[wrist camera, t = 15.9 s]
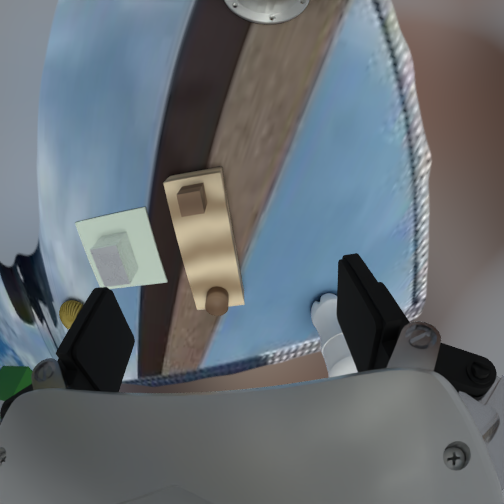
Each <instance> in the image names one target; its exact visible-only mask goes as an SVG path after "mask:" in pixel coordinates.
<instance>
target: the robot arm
mask: <svg viewBox="0 0 504 504" xmlns="http://www.w3.org/2000/svg"><path fill="white" fill-rule="evenodd" d="M224 2H225V4H226V5H227V6H228V8H229V9H230V10H231V11H232V12H233V13H234V14H236V15H237V16H239V17H241V18H243V19H245V20H247V21H250V22H254V23H258V24H279V23H284V22H286V21H289V20H292V19H293V18H295V17H297V16H298V15H299V14H301V13H302V12H303V10H304V9H305V8H306V6H307V5H308V3H309V0H224ZM300 2H302V3H303V4H301V3H300ZM234 6H236V7H237V8H234ZM271 18H272V19H273V21H272V20H270V19H271ZM337 320H338V323H339V325H340V328H341V330H342V333H343V335H344V338H345V340H346V343H347V345H348V348H349V350H350V353H351V356H352V358H353V361H354V363H355V366H356V369H357V371H358V372H357V373H351V374H345V375H340V376H335V377H330V378H324V379H319V380H312V381H305V382H299V383H292V384H286V385H278V386H271V387H262V388H252V389H242V390H230V391H217V392H198V393H120V392H119V389H120V386H121V383H122V379H123V376H124V373H125V370H126V367H127V364H128V361H129V358H130V355H131V352H132V349H133V346H134V342H135V340H134V336H133V334H132V332H131V330H130V328H129V326H128V324H127V322H126V319H125V317H124V315H123V313H122V311H121V309H120V307H119V304H118V302H117V300H116V298H115V296H114V293H113V291H112V290H109V289H108V288H107V287H101V288H95V289H94V290H93V291H92V293H91V294H90V296H89V297H88V299H87V301H86V302H85V304H84V305H83V307H82V309H81V310H80V312H79V313H78V315H77V317H76V318H75V320H74V322H73V324H72V325H71V327H70V329H69V330H68V332H67V334H66V336H65V337H64V339H63V341H62V343H61V345H60V346H59V348H58V350H57V352H56V355H57V356H58V357H59V359H58V361H56V360H55V359H52V358H49V359H45V360H43V361H41V362H40V363H38V364H37V365H36V366H35V368H34V369H33V371H32V374H31V379H32V384H30V385H29V386H27V387H26V388H24V389H22V390H21V391H19V392H18V393H16V394H15V395H13V396H11V397H10V398H8V399H7V400H5V401H4V402H3V404H2V407H1V411H0V417H1V418H0V504H504V497H503V493H502V490H503V488H504V376H502V377H501V378H499V377H498V376H496V369H495V366H494V365H493V364H492V362H491V361H489V360H488V359H487V358H485V357H482V356H479V355H476V354H473V353H470V352H467V351H464V350H461V349H458V348H455V347H452V346H449V345H446V344H443V343H441V335H440V333H439V331H438V330H437V329H436V328H435V327H434V326H433V325H431V324H429V323H426V322H420V321H418V322H412V323H410V322H409V321H408V319H407V318H406V316H405V315H404V313H403V312H402V310H401V309H400V307H399V306H398V304H397V303H396V301H395V300H394V298H393V297H392V295H391V294H390V292H389V291H388V289H387V288H386V287H385V285H384V284H383V283H382V282H377V280H376V279H375V277H374V276H373V274H372V273H371V271H370V270H369V269H368V267H367V266H366V264H365V263H364V261H363V260H362V259H361V257H360V256H359V255H358V254H357V253H356V254H350V255H344V256H343V259H341V260H339V262H338V291H337Z"/></svg>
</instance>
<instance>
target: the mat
mask: <svg viewBox="0 0 504 504" xmlns="http://www.w3.org/2000/svg"><path fill="white" fill-rule="evenodd" d="M75 224H76V227H77V230H78V233H79V235H80V238H81V241H82V244H83V246H84V249H85V252H86V254H87V257H88V259H89V262H90V264H91V267H92V269H93V272H94V274H95V276H96V279H97V281H98V283H99V286H100V288H101V287H105V286H104V284H103V281H102V279H101V277H100V274H99V272H98V269H97V267H96V264H95V262H94V259H93V257H92V254H91V252H90V249H91V248H92V247H93V246H94V245H95V243H96V242H97V241H98V240H99V239H100V238H101V237H102V236H106V235H111V234H116V233H121V232H127V234H128V238H129V241H130V244H131V247H132V250H133V253H134V256H135V259H136V262H137V264H138V267H139V268H138V270H137V272H136V274H135V276H134V278H133V280H132V282H131V283H130V284H125V285H117V286H108V287H107V288H108V289H114V288H122V287H131V286H140V285H148V284H157V283H165V282H168V280H167V277H166V274H165V271H164V268H163V265H162V262H161V258H160V255H159V252H158V249H157V245H156V242H155V238H154V235H153V232H152V228H151V224H150V221H149V217H148V214H147V210H146V207H141V208H136V209H131V210H127V211H122V212H117V213H113V214H108V215H104V216H99V217H95V218H91V219H87V220H82V221H78V222H76V223H75Z"/></svg>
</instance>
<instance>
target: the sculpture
mask: <svg viewBox="0 0 504 504" xmlns="http://www.w3.org/2000/svg"><path fill="white" fill-rule="evenodd" d="M82 306H83V304H82V303H80V302H78V301H75V300H69V301H66V302H65V303H63V304H62V306H61V308H60V311H59V316H60V319H61V321H62V323H63V325H64V326H65V327H66V328H67V329H69V328H70V327H71V325H72V324H73V322H74V320H75V318H76V317H77V315H78V313H79V312H80V310H81V309H82Z"/></svg>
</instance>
